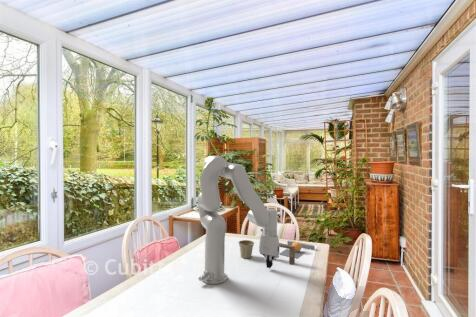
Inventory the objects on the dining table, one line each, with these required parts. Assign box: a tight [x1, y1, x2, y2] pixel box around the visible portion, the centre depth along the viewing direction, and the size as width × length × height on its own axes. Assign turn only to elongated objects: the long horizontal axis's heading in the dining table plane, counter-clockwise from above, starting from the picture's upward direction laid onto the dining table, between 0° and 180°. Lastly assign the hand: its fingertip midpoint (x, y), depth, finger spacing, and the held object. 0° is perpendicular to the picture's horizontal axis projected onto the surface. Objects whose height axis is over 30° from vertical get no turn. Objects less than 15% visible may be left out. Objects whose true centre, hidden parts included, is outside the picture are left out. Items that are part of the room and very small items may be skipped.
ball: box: [292, 241, 302, 252], centre depth 177 cm, size 6×6×6 cm
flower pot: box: [238, 239, 255, 260], centre depth 167 cm, size 9×9×9 cm
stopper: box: [286, 240, 316, 251], centre depth 186 cm, size 2×18×2 cm, turn 56°
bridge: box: [269, 242, 296, 265], centre depth 161 cm, size 3×15×10 cm, turn 56°
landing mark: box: [279, 248, 305, 259], centre depth 174 cm, size 12×12×1 cm
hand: (269, 267), depth 149 cm, fingers closed
